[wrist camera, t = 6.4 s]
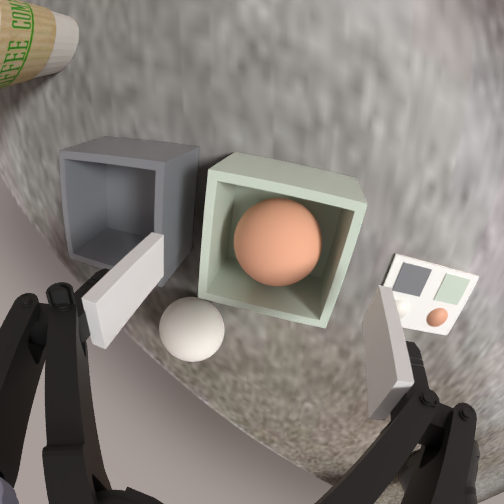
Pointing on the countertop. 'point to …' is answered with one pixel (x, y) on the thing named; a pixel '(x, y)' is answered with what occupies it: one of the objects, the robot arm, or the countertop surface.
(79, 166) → the grey open cubby box
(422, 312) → the card
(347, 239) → the sage open box
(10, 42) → the coffee cup
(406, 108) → the countertop surface
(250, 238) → the ball terracotta
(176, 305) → the ball white
